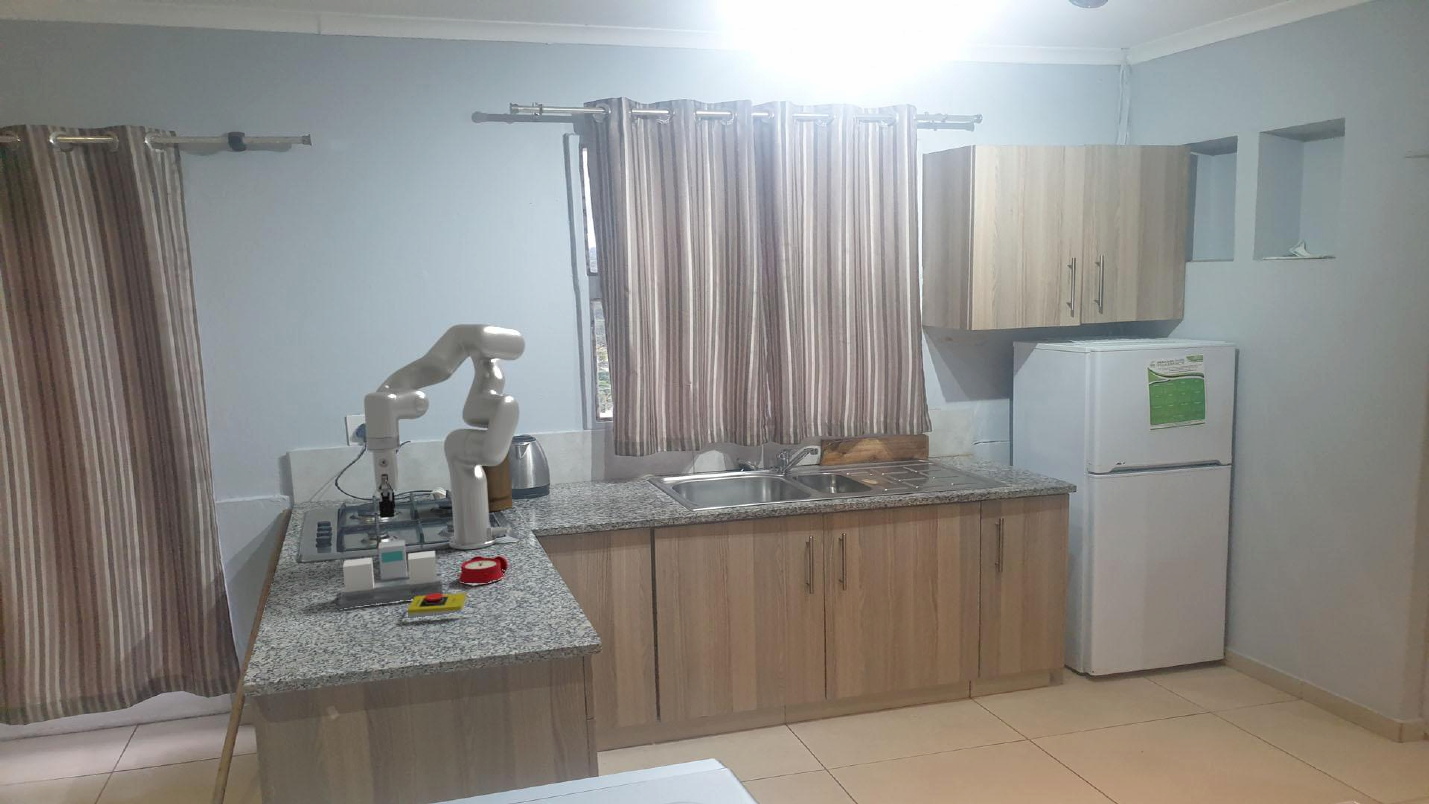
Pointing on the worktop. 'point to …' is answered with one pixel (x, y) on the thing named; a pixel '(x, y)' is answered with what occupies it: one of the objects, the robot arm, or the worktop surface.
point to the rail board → (389, 592)
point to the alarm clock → (482, 569)
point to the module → (392, 559)
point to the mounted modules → (362, 576)
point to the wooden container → (499, 485)
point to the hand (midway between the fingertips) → (387, 512)
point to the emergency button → (436, 604)
